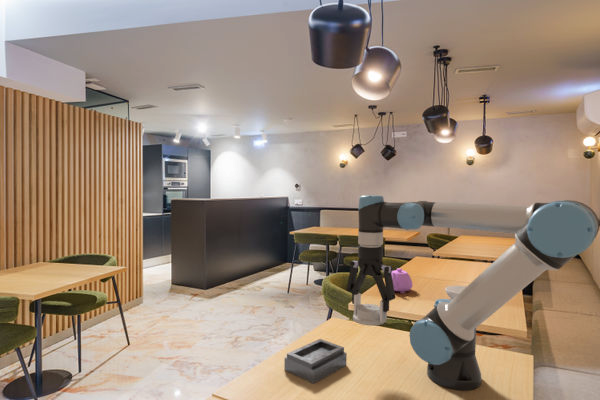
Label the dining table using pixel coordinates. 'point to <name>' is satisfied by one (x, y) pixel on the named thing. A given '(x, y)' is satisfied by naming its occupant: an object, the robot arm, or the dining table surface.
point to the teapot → (401, 280)
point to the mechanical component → (368, 315)
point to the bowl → (454, 290)
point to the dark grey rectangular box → (315, 360)
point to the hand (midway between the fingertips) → (369, 317)
